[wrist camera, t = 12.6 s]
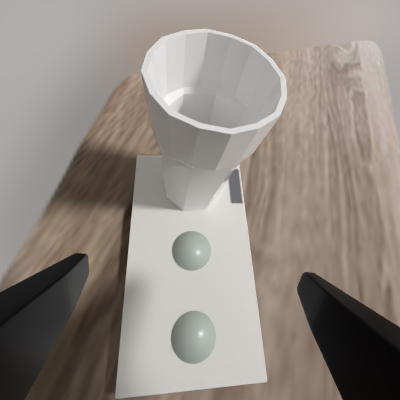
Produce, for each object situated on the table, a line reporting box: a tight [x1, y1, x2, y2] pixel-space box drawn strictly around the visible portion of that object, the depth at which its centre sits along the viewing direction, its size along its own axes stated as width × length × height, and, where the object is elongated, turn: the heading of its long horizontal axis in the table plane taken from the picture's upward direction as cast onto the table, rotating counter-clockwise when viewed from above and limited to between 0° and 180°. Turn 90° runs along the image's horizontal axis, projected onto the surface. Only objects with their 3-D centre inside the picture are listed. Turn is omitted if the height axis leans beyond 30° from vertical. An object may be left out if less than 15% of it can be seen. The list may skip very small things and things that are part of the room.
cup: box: [141, 29, 287, 211], centre depth 14 cm, size 7×7×11 cm
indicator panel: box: [115, 155, 267, 399], centre depth 18 cm, size 18×10×1 cm, turn 2°
